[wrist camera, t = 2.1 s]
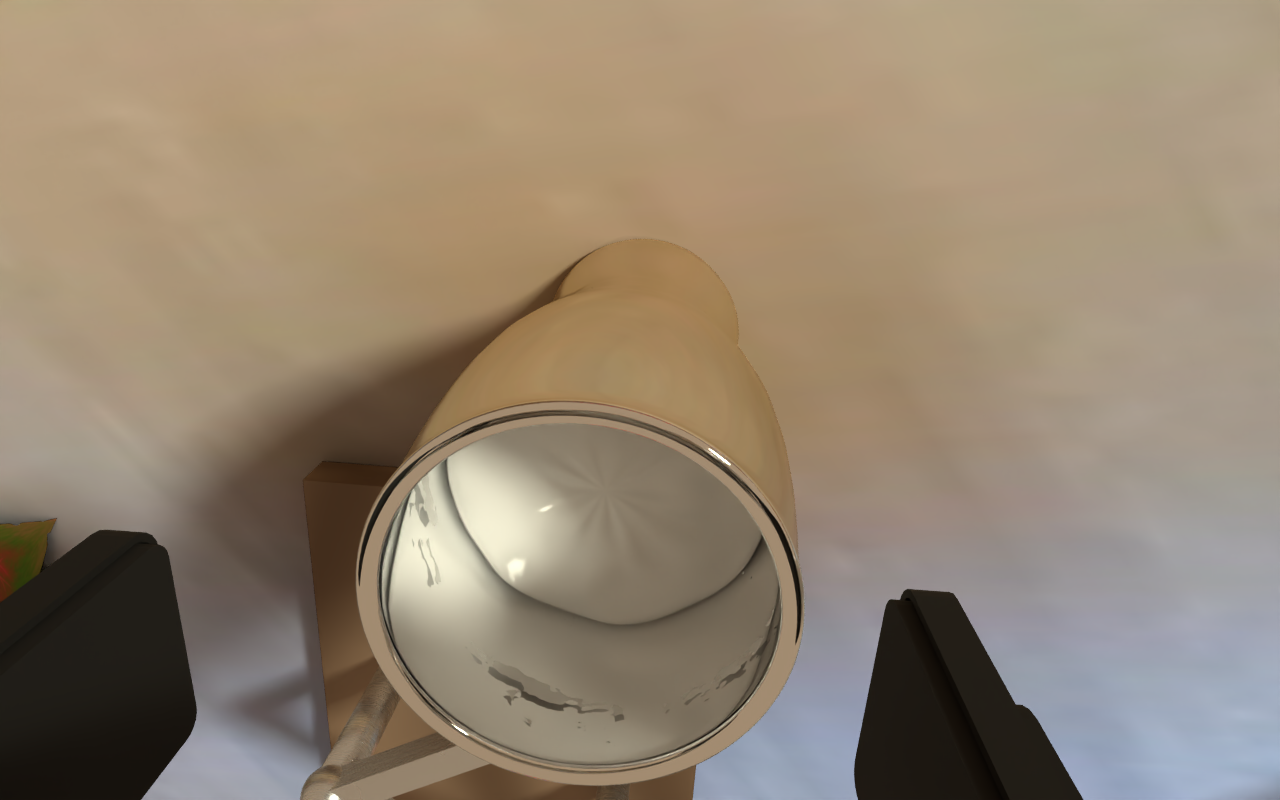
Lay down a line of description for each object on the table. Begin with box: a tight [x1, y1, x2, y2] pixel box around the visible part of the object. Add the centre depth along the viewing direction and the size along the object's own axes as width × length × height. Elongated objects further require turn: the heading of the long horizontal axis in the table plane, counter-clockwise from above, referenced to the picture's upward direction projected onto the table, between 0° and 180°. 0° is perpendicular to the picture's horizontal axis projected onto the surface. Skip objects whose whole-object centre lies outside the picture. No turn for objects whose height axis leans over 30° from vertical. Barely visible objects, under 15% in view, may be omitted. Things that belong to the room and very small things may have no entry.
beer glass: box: [355, 239, 805, 786], centre depth 18 cm, size 7×7×15 cm
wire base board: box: [303, 461, 696, 800], centre depth 29 cm, size 14×14×2 cm
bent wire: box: [300, 667, 630, 800], centre depth 25 cm, size 10×11×7 cm
